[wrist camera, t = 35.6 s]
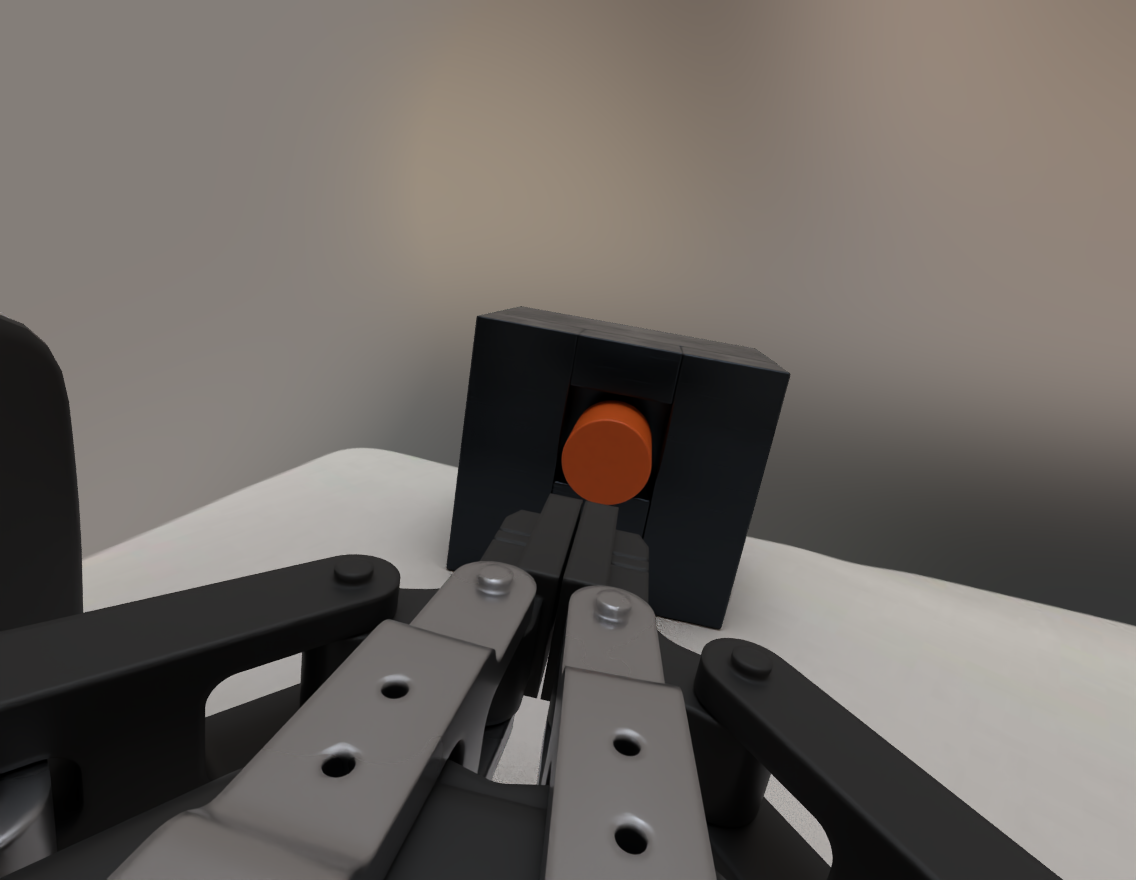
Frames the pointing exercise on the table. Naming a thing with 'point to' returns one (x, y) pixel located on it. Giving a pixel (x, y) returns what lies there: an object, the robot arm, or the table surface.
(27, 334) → the battery charger
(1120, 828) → the table surface
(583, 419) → the knob
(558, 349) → the control box
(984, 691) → the table surface
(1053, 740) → the table surface
